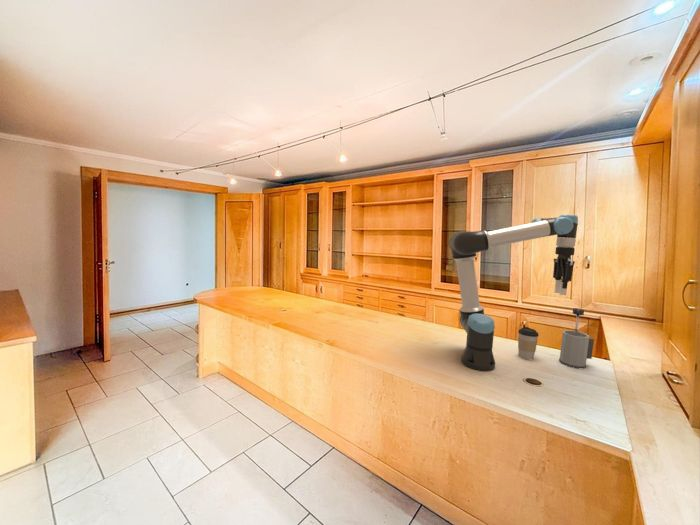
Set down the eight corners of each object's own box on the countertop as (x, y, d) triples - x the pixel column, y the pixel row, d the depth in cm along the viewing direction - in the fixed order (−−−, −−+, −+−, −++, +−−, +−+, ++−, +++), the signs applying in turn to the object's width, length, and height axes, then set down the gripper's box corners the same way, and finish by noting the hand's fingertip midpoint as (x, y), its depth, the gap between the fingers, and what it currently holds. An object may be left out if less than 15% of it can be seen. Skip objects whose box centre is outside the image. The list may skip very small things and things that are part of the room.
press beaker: (566, 367, 143) (570, 336, 142) (554, 358, 154) (557, 329, 152) (597, 370, 142) (601, 338, 140) (582, 360, 152) (586, 331, 151)
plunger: (571, 341, 144) (575, 310, 142) (563, 336, 151) (566, 306, 149) (587, 342, 143) (591, 311, 141) (578, 337, 150) (581, 307, 148)
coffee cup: (539, 361, 149) (542, 332, 148) (519, 359, 151) (522, 330, 149) (531, 354, 158) (534, 327, 157) (513, 352, 160) (516, 325, 158)
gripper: (584, 248, 136) (579, 298, 139) (563, 246, 153) (558, 290, 155) (567, 247, 137) (561, 297, 140) (547, 245, 154) (543, 290, 156)
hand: (560, 293), depth 147 cm, fingers open, 4 cm apart
